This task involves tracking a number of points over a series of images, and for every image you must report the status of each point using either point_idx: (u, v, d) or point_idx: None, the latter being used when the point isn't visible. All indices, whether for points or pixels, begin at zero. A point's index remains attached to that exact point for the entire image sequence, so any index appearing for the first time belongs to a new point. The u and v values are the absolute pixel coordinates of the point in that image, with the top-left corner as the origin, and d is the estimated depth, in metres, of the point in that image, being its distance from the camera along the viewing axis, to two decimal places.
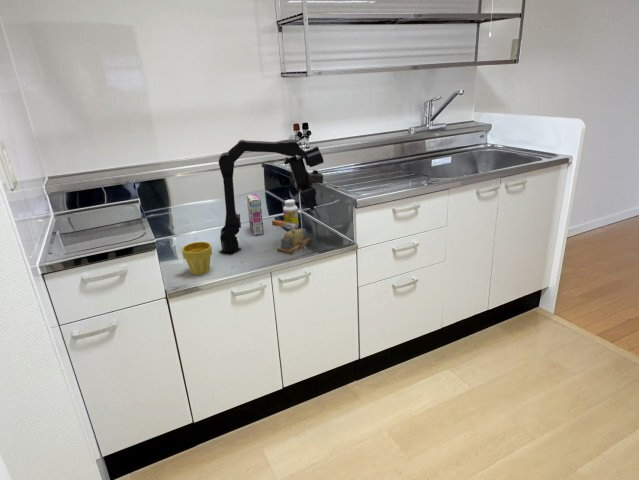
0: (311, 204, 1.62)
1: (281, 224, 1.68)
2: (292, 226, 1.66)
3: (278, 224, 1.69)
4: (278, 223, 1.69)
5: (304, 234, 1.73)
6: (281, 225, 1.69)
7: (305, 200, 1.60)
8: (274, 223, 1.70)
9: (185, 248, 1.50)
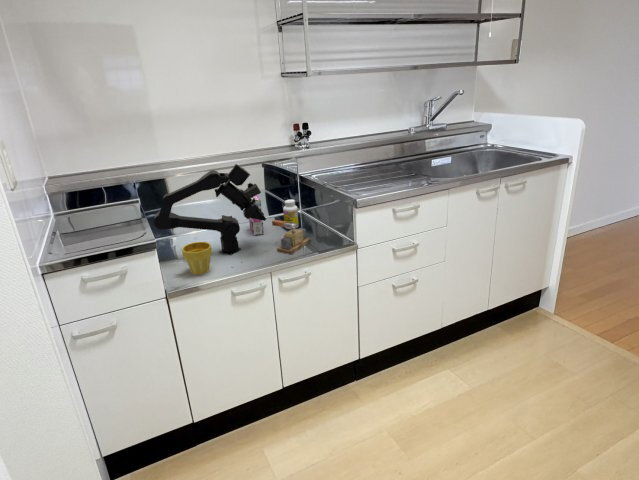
0: (260, 216, 1.63)
1: (281, 224, 1.68)
2: (292, 226, 1.66)
3: (278, 224, 1.69)
4: (278, 223, 1.69)
5: (304, 234, 1.73)
6: (281, 225, 1.69)
7: (253, 216, 1.61)
8: (274, 223, 1.70)
9: (185, 248, 1.50)
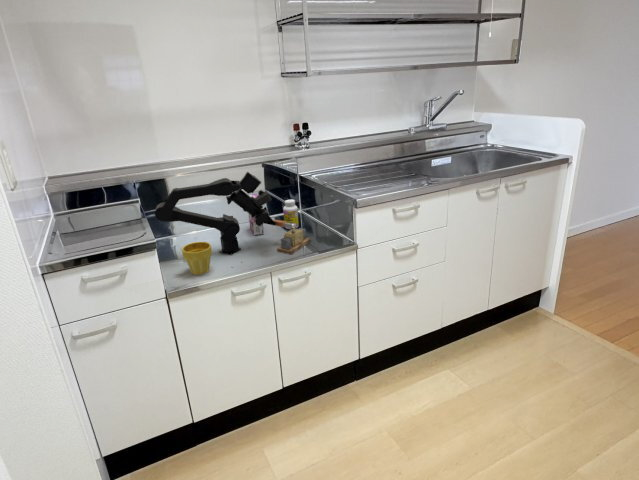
0: (270, 221, 1.68)
1: (281, 224, 1.69)
2: (292, 226, 1.66)
3: (278, 224, 1.69)
4: (278, 223, 1.69)
5: (304, 234, 1.73)
6: (281, 225, 1.69)
7: None
8: None
9: (185, 248, 1.50)
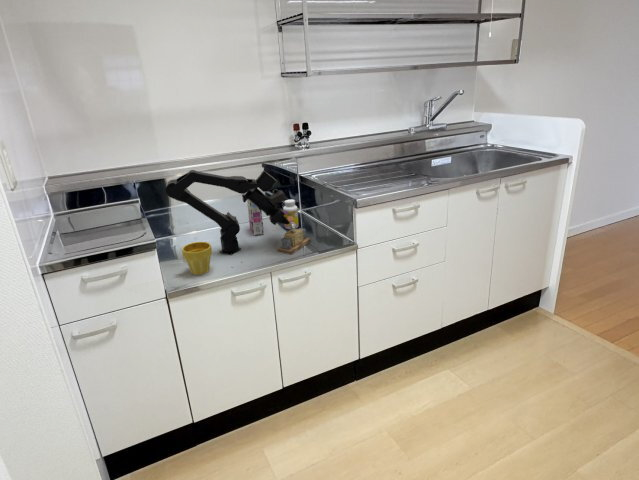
0: (284, 220, 1.69)
1: None
2: (290, 226, 1.66)
3: None
4: (288, 220, 1.73)
5: (304, 234, 1.73)
6: (289, 222, 1.71)
7: None
8: None
9: (185, 248, 1.50)
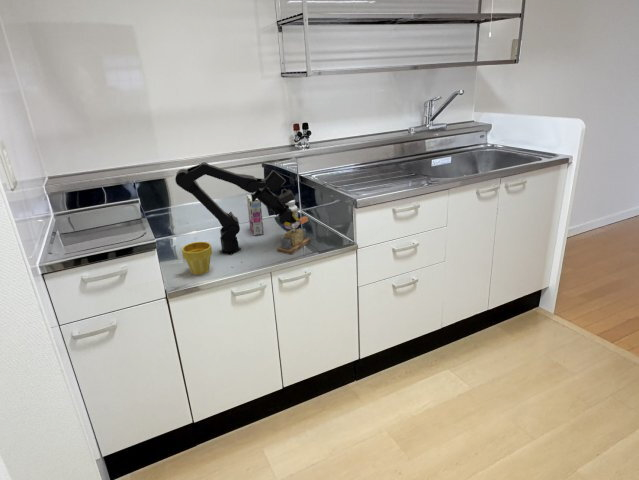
0: (293, 220, 1.69)
1: None
2: None
3: None
4: None
5: (304, 234, 1.73)
6: None
7: None
8: None
9: (185, 248, 1.50)
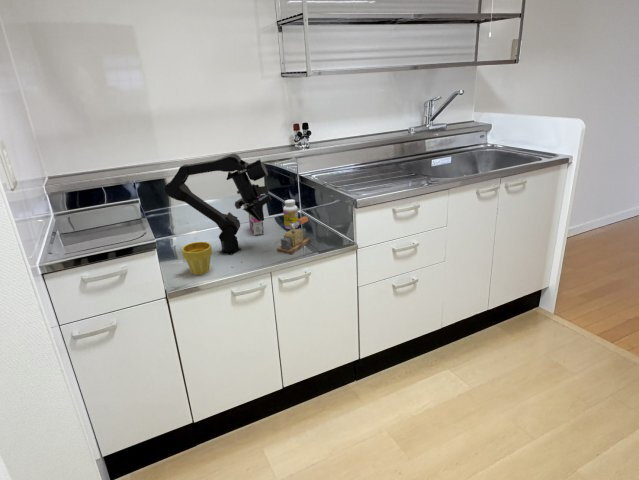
0: (261, 214, 1.62)
1: None
2: None
3: None
4: None
5: (304, 234, 1.73)
6: None
7: (256, 210, 1.59)
8: None
9: (185, 248, 1.50)
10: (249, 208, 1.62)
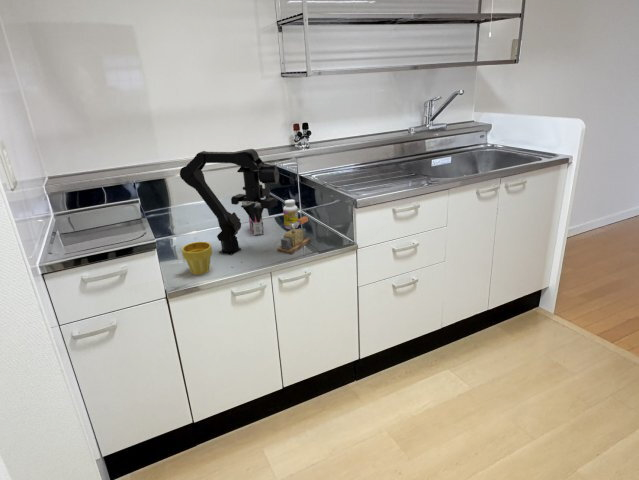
0: (260, 215, 1.60)
1: None
2: None
3: None
4: None
5: (304, 234, 1.73)
6: None
7: (258, 211, 1.57)
8: None
9: (185, 248, 1.50)
10: (248, 207, 1.59)
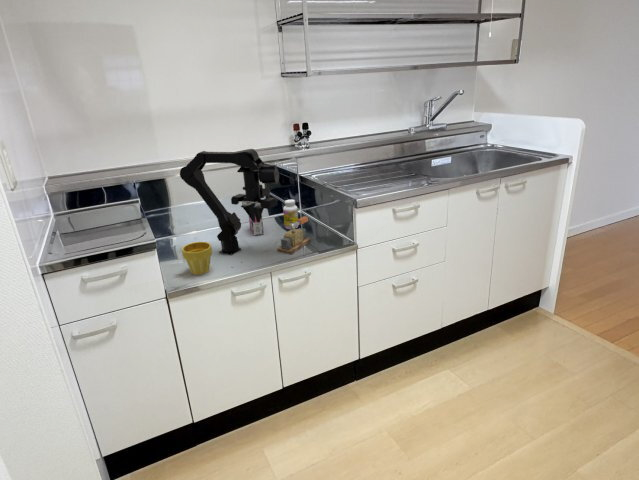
0: (260, 215, 1.60)
1: None
2: None
3: None
4: None
5: (304, 234, 1.73)
6: None
7: (258, 211, 1.57)
8: None
9: (185, 248, 1.50)
10: (248, 207, 1.59)
